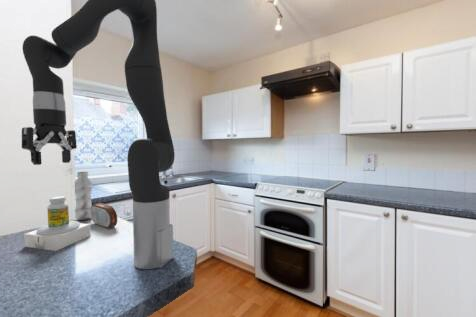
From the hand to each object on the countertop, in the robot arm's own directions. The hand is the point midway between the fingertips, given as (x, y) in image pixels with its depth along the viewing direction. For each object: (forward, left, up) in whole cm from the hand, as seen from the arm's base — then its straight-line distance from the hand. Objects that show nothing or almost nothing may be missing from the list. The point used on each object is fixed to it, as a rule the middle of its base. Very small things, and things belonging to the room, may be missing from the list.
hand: (52, 163), depth 69 cm
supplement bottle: (+3, -4, -21) cm, 22 cm away
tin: (0, -19, -26) cm, 32 cm away
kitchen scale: (+3, -4, -26) cm, 26 cm away
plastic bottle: (+14, -23, -26) cm, 38 cm away
